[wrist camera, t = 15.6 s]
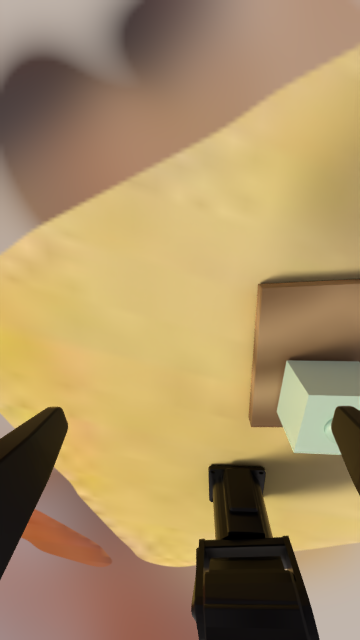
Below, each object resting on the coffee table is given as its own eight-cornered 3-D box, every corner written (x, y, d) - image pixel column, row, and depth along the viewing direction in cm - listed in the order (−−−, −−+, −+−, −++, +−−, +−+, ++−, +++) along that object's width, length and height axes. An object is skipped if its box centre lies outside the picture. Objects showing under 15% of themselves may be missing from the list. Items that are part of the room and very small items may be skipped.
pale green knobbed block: (286, 360, 18) (311, 399, 14) (358, 361, 18) (405, 401, 14) (276, 411, 21) (295, 457, 17) (340, 413, 20) (376, 461, 16)
